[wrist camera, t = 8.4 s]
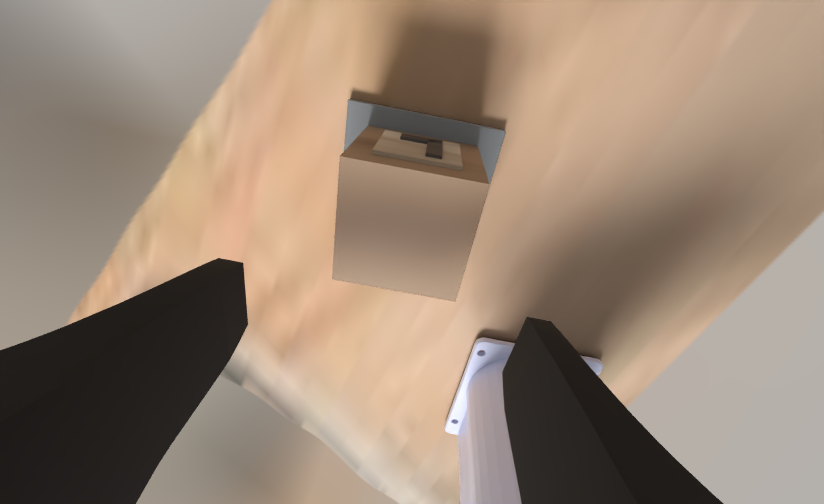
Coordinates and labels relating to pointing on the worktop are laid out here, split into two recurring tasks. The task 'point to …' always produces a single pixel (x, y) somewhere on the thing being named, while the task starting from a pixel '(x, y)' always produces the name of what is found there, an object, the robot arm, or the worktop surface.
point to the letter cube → (407, 212)
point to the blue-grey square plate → (424, 128)
